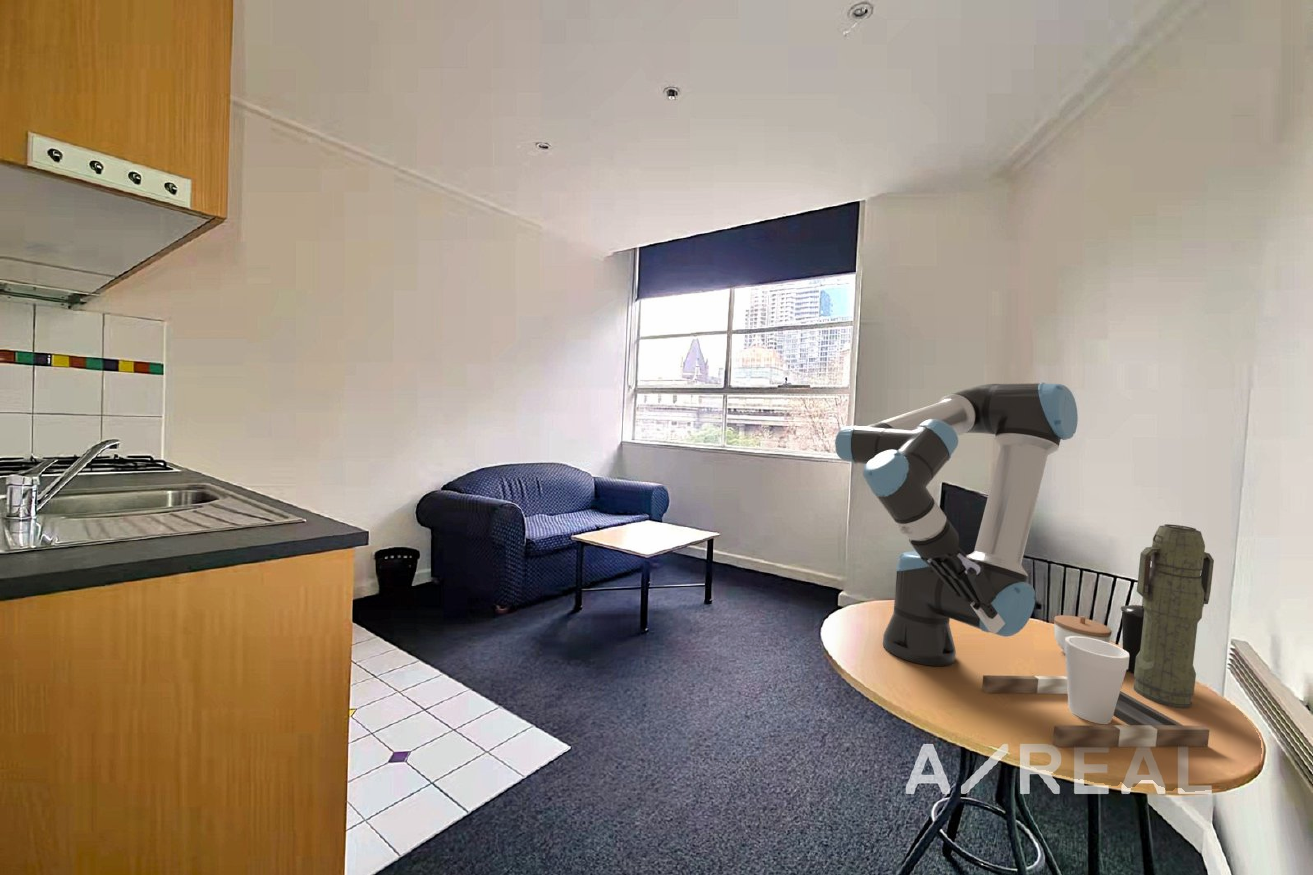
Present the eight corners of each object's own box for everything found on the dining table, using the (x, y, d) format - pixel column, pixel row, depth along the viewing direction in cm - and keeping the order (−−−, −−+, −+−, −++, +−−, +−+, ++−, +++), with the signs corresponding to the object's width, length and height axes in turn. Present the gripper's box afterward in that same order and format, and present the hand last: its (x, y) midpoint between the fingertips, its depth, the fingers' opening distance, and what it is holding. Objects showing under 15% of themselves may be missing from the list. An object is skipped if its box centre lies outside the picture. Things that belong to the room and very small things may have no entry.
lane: (1058, 747, 90) (1060, 729, 90) (981, 689, 109) (983, 675, 108) (1207, 746, 93) (1209, 729, 93) (1108, 691, 111) (1109, 676, 111)
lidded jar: (1087, 648, 134) (1091, 610, 133) (1120, 668, 123) (1124, 627, 122) (1041, 643, 135) (1045, 606, 134) (1070, 663, 124) (1073, 623, 123)
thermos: (1114, 682, 115) (1130, 520, 114) (1172, 688, 115) (1190, 524, 113) (1149, 705, 107) (1167, 529, 105) (1212, 710, 106) (1232, 533, 104)
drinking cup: (1107, 666, 124) (1116, 579, 123) (1126, 661, 127) (1135, 577, 126) (1148, 682, 117) (1158, 590, 116) (1167, 677, 120) (1177, 588, 119)
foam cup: (1104, 733, 95) (1111, 661, 95) (1047, 706, 104) (1054, 639, 103) (1132, 722, 100) (1140, 653, 99) (1076, 697, 108) (1082, 633, 107)
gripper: (888, 536, 102) (956, 629, 105) (939, 549, 89) (1014, 655, 92) (916, 510, 103) (981, 603, 106) (969, 520, 90) (1042, 625, 93)
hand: (997, 627), depth 99 cm, fingers closed
